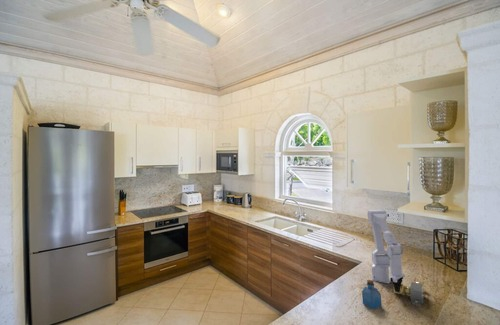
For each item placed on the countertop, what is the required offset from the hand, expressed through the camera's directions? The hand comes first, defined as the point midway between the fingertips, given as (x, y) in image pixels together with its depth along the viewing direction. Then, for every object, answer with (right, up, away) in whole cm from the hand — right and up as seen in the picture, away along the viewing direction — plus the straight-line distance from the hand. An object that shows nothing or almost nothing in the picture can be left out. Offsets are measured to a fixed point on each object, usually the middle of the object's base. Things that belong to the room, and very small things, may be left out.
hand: (397, 290), depth 132 cm
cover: (+14, -2, +3) cm, 15 cm away
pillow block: (+7, -1, -6) cm, 9 cm away
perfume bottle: (-19, -3, -9) cm, 21 cm away
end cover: (+3, -2, -2) cm, 4 cm away
